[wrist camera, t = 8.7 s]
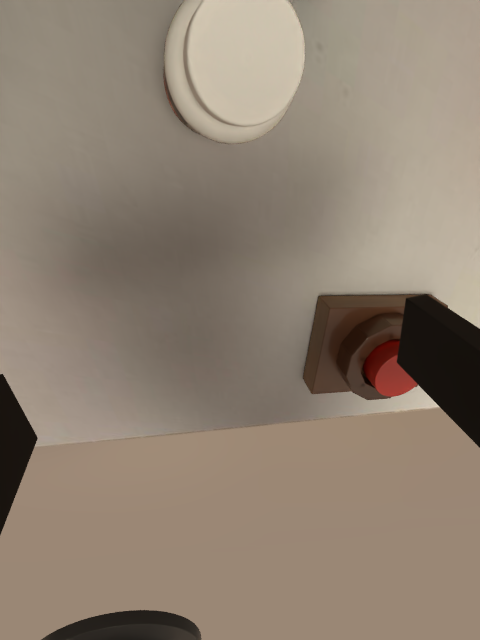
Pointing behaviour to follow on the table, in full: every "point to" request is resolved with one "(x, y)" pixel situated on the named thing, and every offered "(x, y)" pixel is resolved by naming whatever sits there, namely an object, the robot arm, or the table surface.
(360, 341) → the button block
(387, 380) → the power button
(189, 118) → the pill bottle
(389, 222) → the table surface
